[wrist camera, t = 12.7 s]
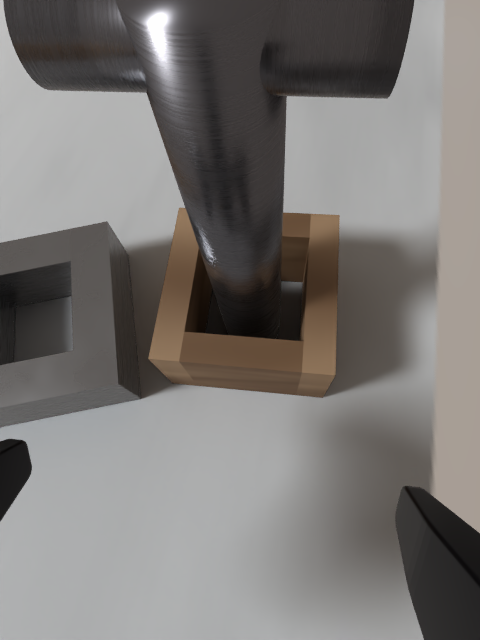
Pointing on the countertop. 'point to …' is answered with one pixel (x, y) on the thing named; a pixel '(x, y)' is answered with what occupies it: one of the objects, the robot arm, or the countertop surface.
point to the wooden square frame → (249, 352)
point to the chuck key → (220, 104)
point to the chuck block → (87, 321)
